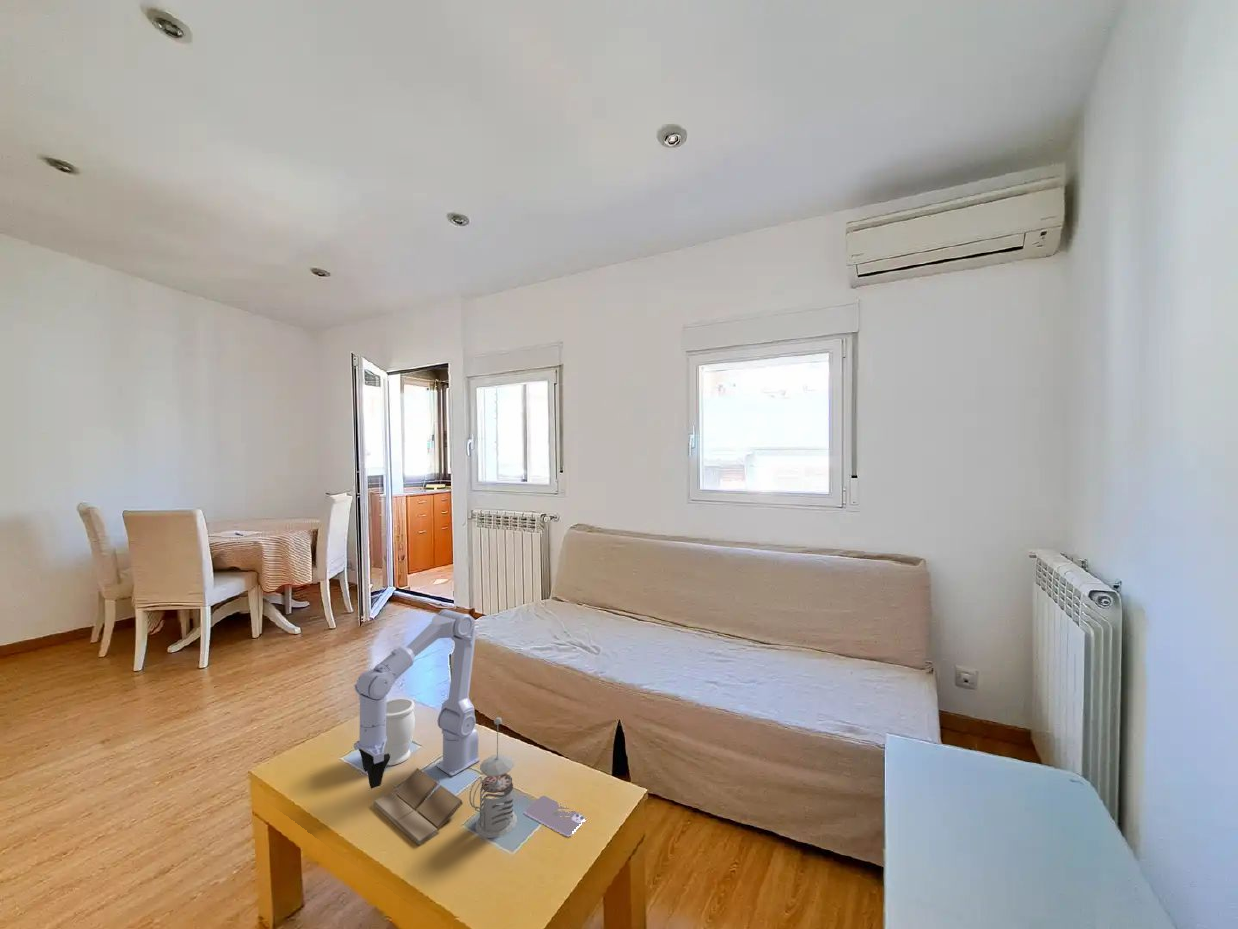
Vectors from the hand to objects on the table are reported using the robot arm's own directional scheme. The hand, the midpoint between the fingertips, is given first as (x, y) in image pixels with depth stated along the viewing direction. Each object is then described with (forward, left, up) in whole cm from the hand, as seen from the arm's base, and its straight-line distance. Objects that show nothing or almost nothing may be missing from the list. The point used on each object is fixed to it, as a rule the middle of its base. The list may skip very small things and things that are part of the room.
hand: (372, 778), depth 116 cm
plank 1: (-11, +1, -8) cm, 14 cm away
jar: (-16, -20, -10) cm, 27 cm away
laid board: (-5, +6, -10) cm, 13 cm away
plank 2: (-11, +11, -8) cm, 18 cm away
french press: (-17, +24, -10) cm, 31 cm away
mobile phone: (-28, +34, -10) cm, 45 cm away
